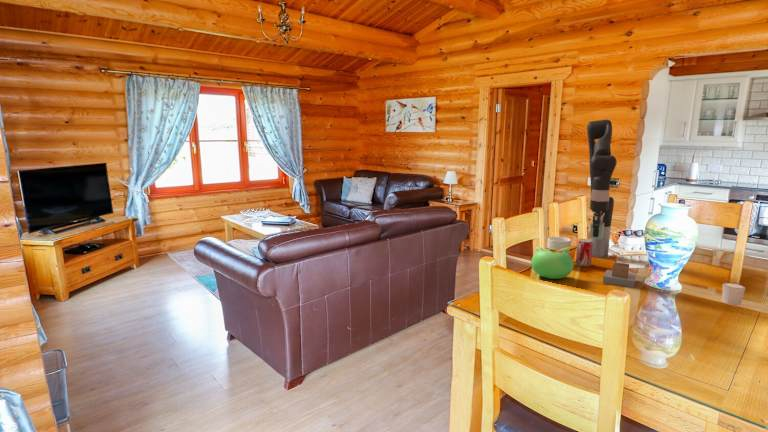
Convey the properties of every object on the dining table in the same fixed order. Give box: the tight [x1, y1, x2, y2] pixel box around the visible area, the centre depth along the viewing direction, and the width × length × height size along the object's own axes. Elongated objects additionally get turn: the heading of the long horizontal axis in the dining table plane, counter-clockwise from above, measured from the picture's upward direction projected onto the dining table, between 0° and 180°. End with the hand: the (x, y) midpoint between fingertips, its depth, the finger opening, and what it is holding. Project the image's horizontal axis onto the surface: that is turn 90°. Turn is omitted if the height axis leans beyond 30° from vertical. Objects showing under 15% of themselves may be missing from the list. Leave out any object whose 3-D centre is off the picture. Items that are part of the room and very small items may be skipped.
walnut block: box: [611, 261, 630, 278], centre depth 188 cm, size 6×6×5 cm
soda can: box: [575, 238, 593, 268], centre depth 213 cm, size 7×7×13 cm
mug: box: [546, 236, 572, 255], centre depth 218 cm, size 15×11×13 cm
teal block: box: [589, 221, 604, 239], centre depth 193 cm, size 5×5×7 cm
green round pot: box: [530, 246, 574, 280], centre depth 193 cm, size 18×17×15 cm
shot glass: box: [721, 282, 746, 306], centre depth 163 cm, size 7×7×7 cm
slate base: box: [602, 269, 637, 289], centre depth 188 cm, size 12×12×3 cm
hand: (596, 235), depth 194 cm, fingers closed on teal block, 5 cm apart
